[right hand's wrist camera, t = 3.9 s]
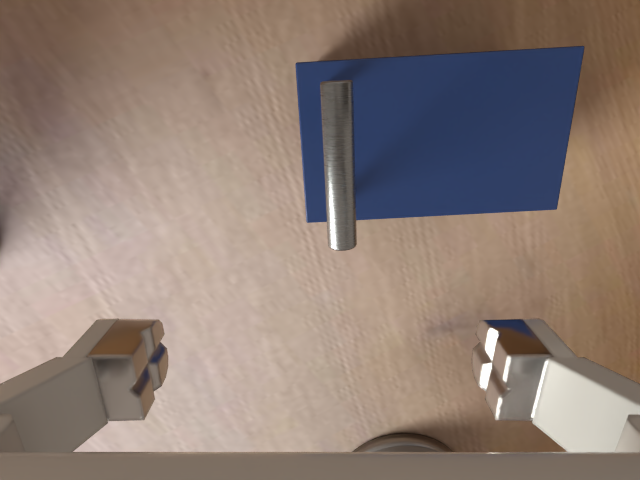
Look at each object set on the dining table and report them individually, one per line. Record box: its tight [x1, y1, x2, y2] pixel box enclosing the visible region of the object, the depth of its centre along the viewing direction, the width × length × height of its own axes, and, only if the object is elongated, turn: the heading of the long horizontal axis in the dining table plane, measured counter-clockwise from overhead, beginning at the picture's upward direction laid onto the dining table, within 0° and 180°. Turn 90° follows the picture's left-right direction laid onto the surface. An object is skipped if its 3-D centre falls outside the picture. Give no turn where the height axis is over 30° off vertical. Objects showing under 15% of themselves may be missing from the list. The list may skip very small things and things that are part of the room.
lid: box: [296, 46, 584, 251], centre depth 23 cm, size 17×10×8 cm, turn 93°
